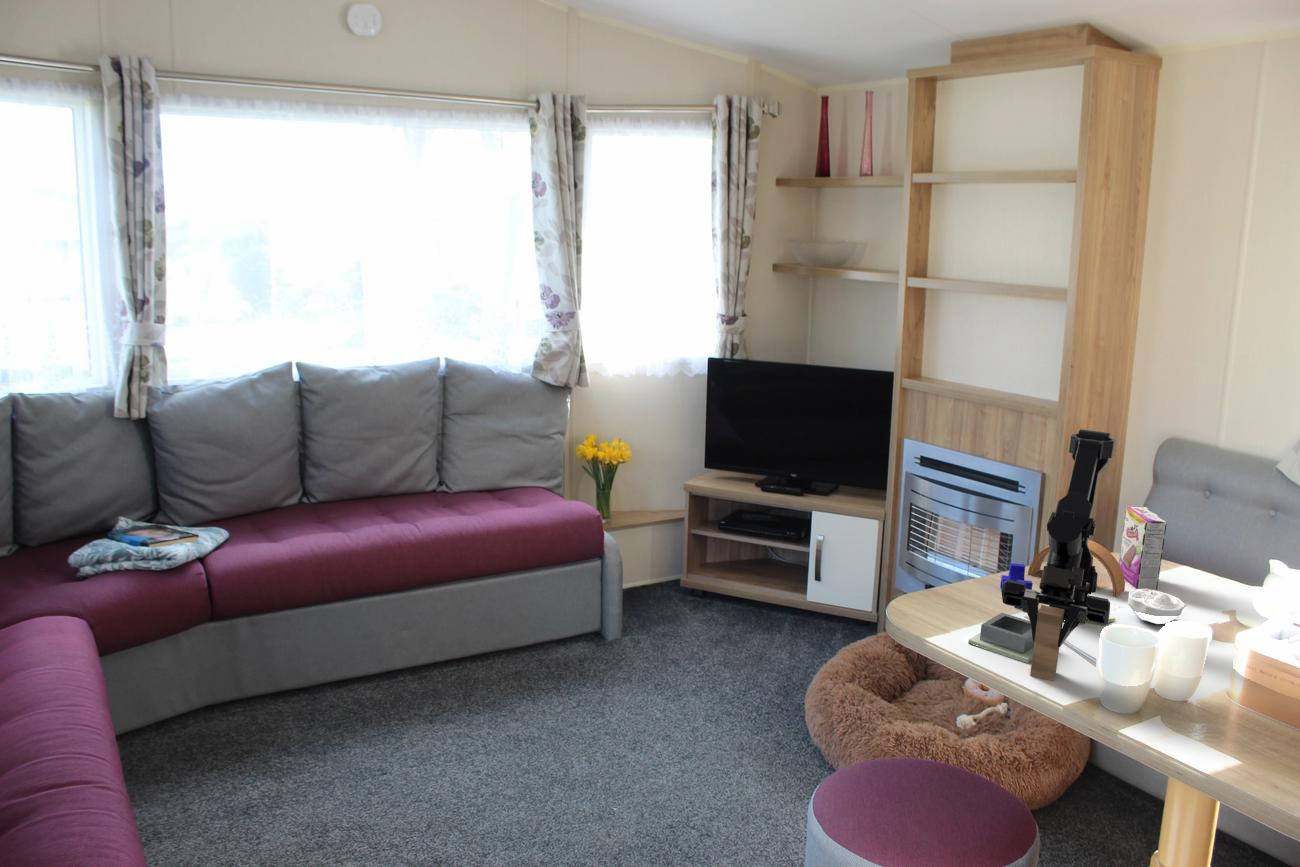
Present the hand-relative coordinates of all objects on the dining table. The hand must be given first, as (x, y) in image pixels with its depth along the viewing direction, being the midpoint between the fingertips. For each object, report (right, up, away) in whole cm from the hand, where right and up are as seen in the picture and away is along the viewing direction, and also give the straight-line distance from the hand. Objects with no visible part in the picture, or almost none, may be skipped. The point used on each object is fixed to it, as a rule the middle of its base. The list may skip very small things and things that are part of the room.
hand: (1046, 643), depth 199 cm
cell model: (+33, -1, +30) cm, 44 cm away
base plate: (-1, -3, +15) cm, 16 cm away
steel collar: (-1, -3, +15) cm, 16 cm away
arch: (+25, +4, +50) cm, 56 cm away
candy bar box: (+40, +4, +52) cm, 66 cm away
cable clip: (+7, +2, +40) cm, 40 cm away
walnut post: (0, -6, +3) cm, 7 cm away
